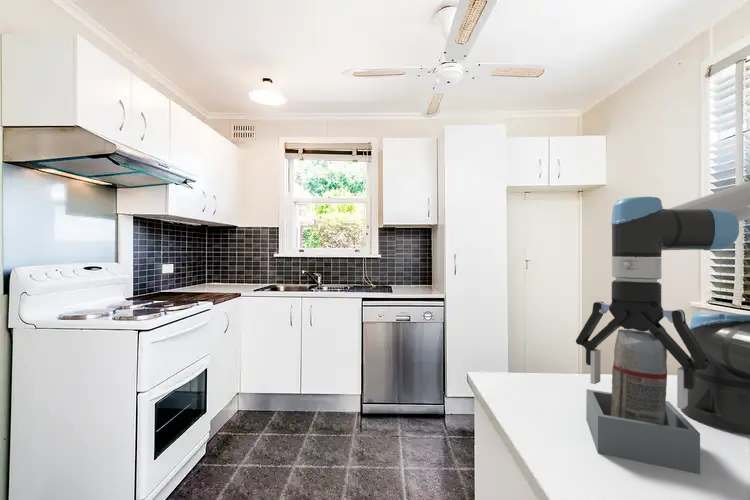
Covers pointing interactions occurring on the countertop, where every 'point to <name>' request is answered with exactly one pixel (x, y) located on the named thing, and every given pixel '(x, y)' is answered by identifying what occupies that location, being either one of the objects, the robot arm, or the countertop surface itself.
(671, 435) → the bin
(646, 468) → the countertop surface
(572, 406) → the countertop surface
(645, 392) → the white paper tall sack
